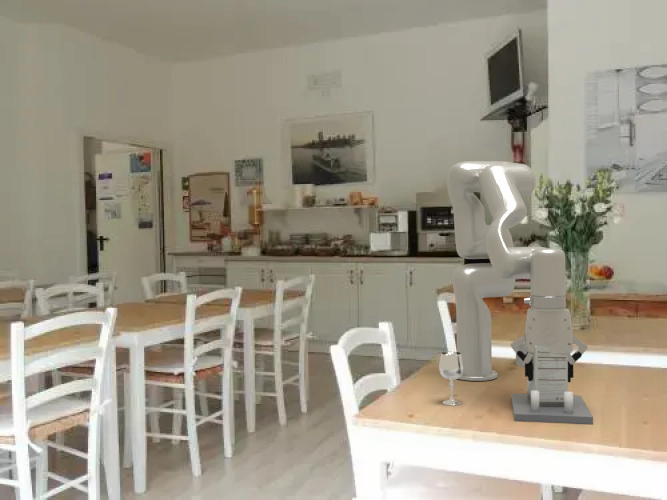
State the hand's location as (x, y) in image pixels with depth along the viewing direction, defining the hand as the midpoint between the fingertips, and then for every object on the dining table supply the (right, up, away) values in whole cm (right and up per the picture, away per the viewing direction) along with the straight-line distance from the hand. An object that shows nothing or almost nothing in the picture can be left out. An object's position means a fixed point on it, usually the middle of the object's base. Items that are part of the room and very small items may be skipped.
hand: (548, 379), depth 152 cm
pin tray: (0, -7, 0) cm, 7 cm away
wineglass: (-20, -7, +9) cm, 24 cm away
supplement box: (0, -5, +1) cm, 5 cm away
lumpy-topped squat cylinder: (+13, -5, +51) cm, 53 cm away
